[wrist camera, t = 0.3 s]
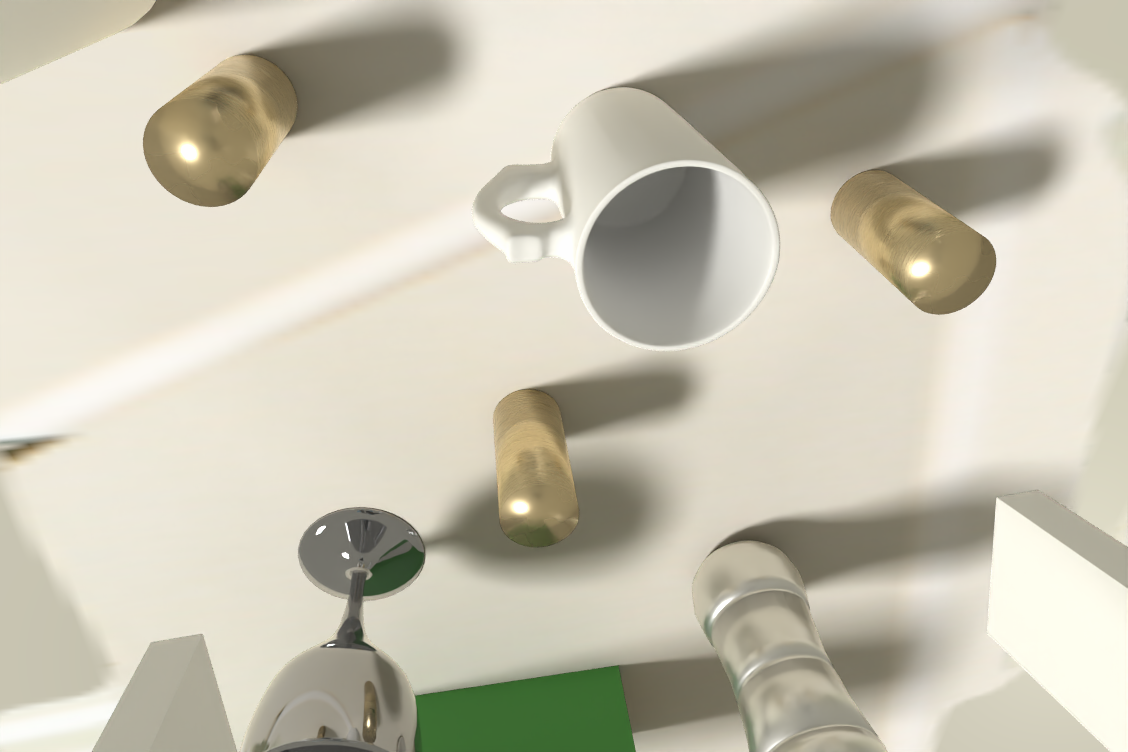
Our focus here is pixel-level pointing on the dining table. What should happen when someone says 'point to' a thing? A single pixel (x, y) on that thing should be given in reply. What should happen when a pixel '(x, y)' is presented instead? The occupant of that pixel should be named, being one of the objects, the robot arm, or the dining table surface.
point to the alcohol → (58, 29)
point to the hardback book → (530, 715)
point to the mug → (642, 222)
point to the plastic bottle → (775, 654)
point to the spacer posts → (530, 417)
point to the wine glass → (346, 647)
